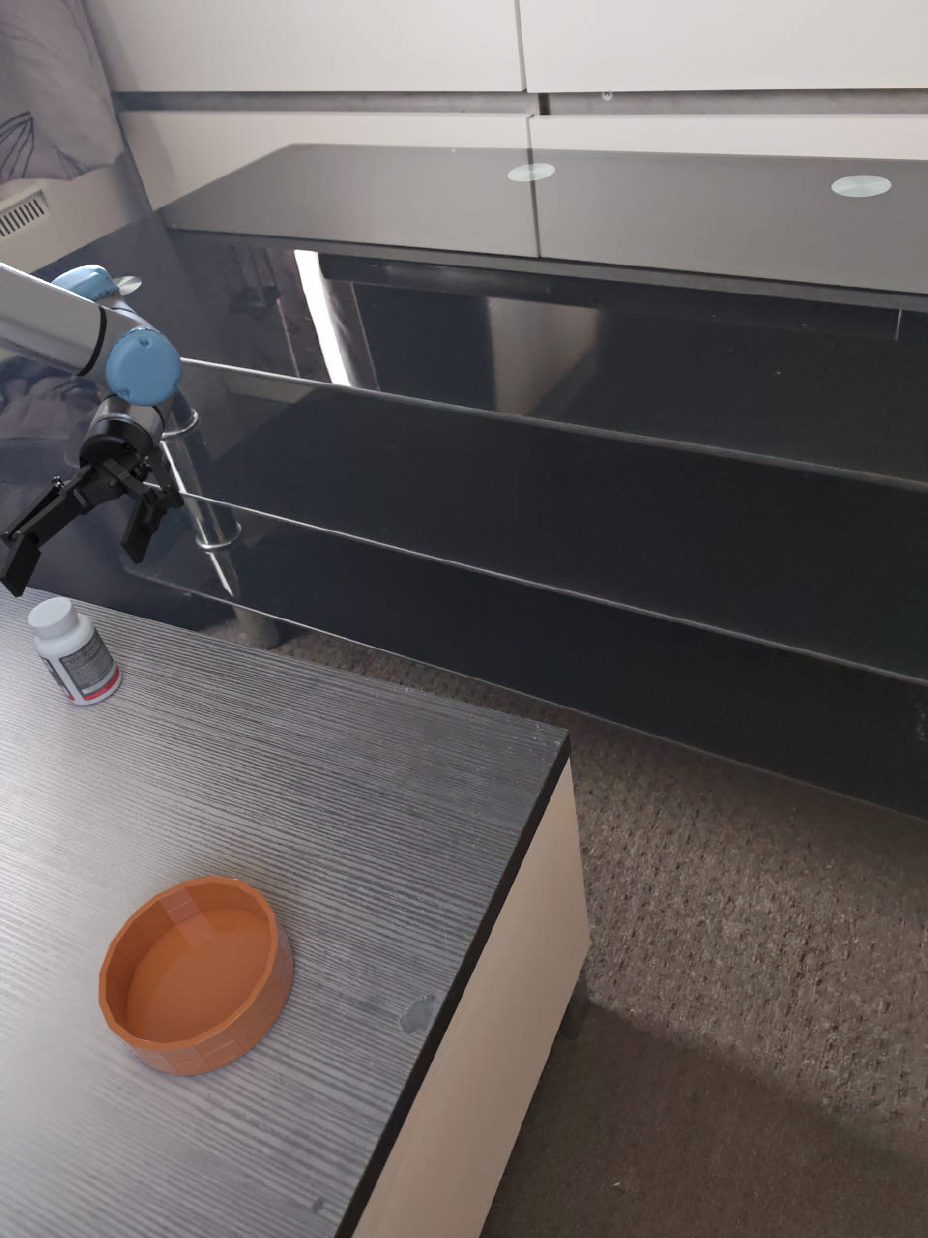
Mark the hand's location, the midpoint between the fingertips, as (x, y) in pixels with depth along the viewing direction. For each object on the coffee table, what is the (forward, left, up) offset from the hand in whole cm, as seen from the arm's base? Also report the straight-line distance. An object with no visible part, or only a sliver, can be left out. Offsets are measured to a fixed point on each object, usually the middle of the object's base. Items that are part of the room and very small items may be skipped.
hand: (69, 571), depth 89 cm
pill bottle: (+5, -7, -8) cm, 12 cm away
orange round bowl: (+34, -28, -8) cm, 45 cm away
